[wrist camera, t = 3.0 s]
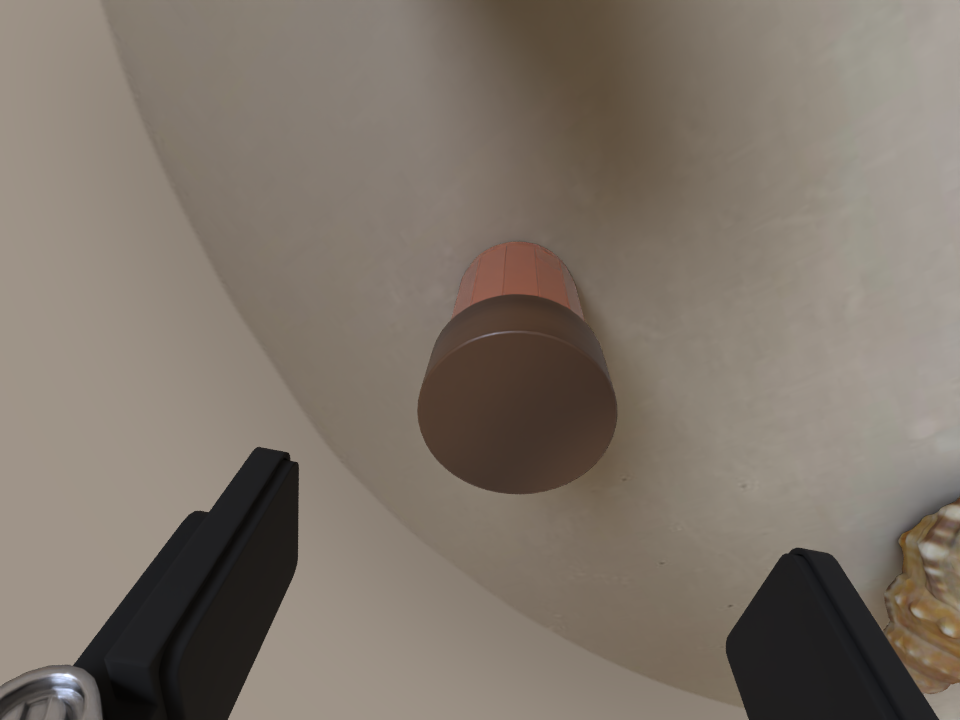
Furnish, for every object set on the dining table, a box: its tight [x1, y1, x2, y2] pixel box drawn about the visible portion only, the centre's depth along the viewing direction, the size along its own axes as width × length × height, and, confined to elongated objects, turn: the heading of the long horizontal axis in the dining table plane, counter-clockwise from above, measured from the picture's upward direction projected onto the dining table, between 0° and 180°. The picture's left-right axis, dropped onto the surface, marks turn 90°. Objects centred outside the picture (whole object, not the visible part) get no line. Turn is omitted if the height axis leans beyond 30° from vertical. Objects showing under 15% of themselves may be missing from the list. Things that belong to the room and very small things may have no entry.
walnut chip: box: [417, 294, 617, 494], centre depth 15 cm, size 5×5×2 cm
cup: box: [451, 242, 585, 321], centre depth 18 cm, size 5×5×6 cm
